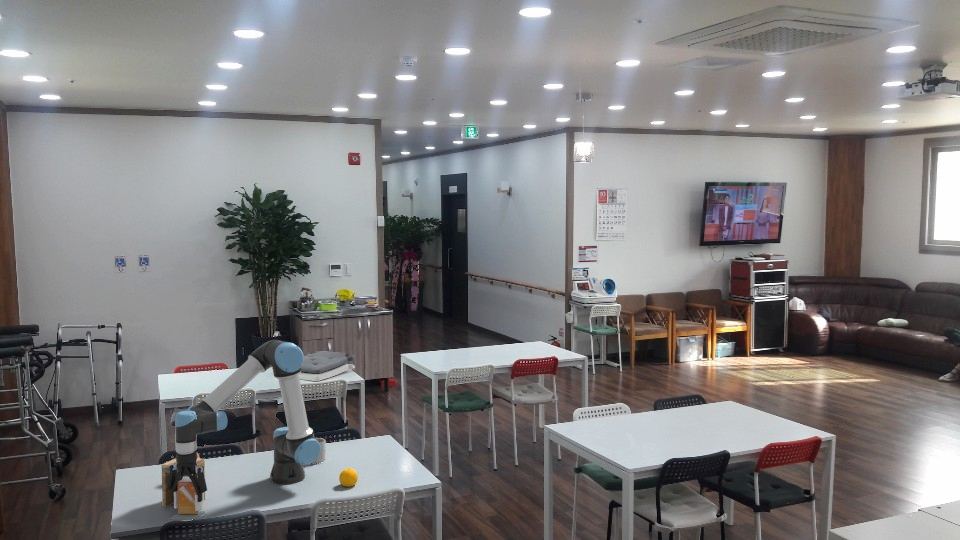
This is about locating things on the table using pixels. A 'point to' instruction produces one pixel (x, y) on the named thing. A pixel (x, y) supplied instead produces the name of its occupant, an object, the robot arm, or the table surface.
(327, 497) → the table surface
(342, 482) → the yellow ball
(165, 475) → the dispenser
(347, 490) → the table surface
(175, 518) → the pad
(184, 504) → the small box
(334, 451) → the table surface
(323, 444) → the mug
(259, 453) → the table surface
